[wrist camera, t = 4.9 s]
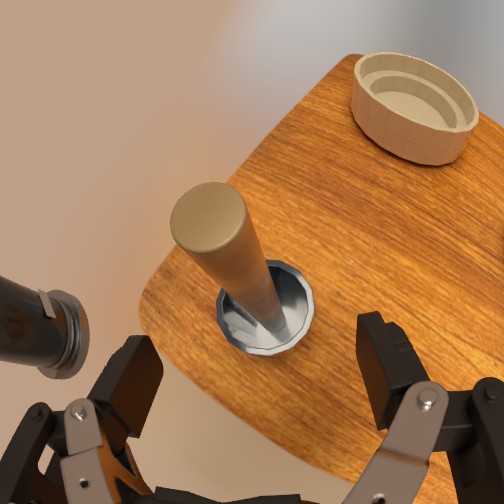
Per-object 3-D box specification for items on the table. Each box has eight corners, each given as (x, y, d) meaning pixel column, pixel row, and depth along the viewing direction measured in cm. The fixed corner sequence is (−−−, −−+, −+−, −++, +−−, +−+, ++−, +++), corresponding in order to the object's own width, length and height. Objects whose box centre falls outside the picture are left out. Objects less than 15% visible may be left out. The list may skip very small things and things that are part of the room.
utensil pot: (230, 343, 22) (202, 336, 16) (254, 279, 24) (236, 247, 17) (296, 366, 21) (295, 369, 14) (318, 299, 22) (326, 273, 16)
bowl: (343, 146, 28) (347, 104, 22) (356, 76, 32) (359, 42, 27) (467, 185, 23) (490, 152, 18) (453, 106, 28) (465, 75, 23)
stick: (259, 328, 22) (156, 240, 6) (267, 307, 22) (189, 175, 7) (281, 335, 21) (227, 262, 6) (289, 314, 22) (257, 188, 6)
